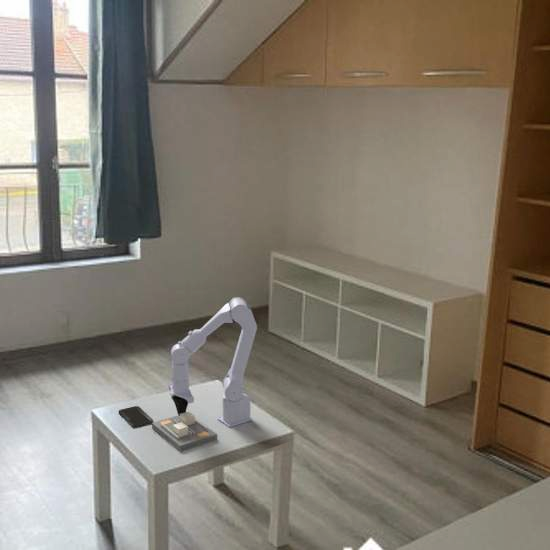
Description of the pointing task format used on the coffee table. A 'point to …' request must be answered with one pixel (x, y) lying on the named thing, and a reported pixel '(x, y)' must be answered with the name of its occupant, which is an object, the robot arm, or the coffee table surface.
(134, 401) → the coffee table surface
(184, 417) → the tab
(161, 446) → the coffee table surface
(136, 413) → the phone
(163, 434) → the switch board
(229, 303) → the robot arm
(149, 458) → the coffee table surface
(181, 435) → the tab
